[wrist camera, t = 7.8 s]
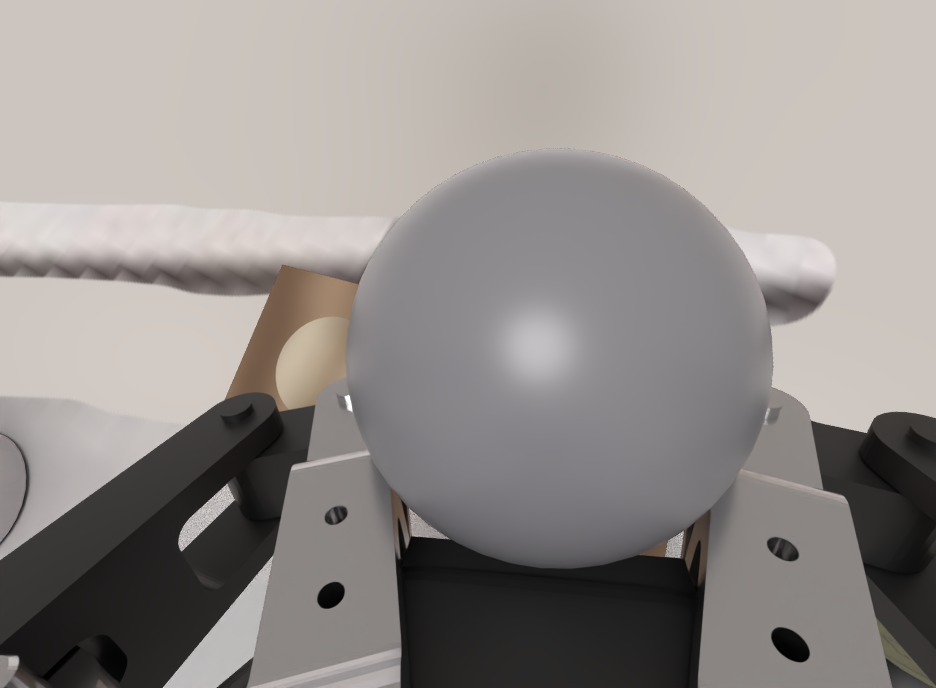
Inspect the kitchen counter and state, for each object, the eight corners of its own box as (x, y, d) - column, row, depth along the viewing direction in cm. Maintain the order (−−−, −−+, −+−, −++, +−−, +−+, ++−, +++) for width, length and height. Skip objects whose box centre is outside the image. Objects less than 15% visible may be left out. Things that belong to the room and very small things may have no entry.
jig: (227, 432, 30) (175, 427, 25) (293, 273, 32) (256, 244, 28) (649, 583, 24) (675, 611, 20) (692, 377, 26) (724, 361, 22)
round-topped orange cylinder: (460, 468, 17) (145, 497, 3) (497, 350, 18) (369, 3, 4) (587, 511, 16) (879, 813, 2) (618, 383, 17) (953, 60, 3)
